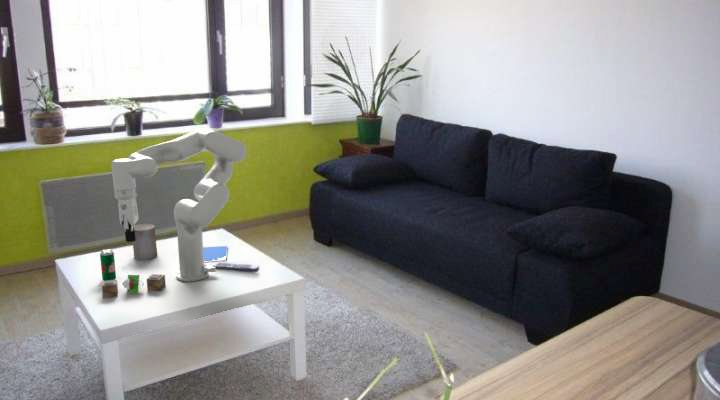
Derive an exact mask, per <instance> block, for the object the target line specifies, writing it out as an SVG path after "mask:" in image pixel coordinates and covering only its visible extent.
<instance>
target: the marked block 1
mask: <svg viewBox="0 0 720 400" xmlns="http://www.w3.org/2000/svg"><path fill="white" fill-rule="evenodd" d="M101 290H102V291H101V292H102V293H101V294H102V299H110V298H117V297H118V295H119V289H118V280H117V279H115V280H108V281H103V280H102V281H101Z"/></svg>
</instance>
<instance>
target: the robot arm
mask: <svg viewBox="0 0 720 400" xmlns="http://www.w3.org/2000/svg"><path fill="white" fill-rule="evenodd" d="M203 152H207V153H211V154H213V159H214V160H213V165H212V167H211V168H210V169H209V171H207V173H206V174H205V175H204V176H203V177H202V178H201V180H199V182H198V183H197V184H196V185H195V187H194V189H193V195H194V198H195V199H196V200H194V199H190V198H184V199H181V200H178V201H177V203H176V204H175V205H174V208H173V218H174V221H175V225H176V226H175V227H176V232H177V234H176V235H177V246H178V248H177V249H178V250H177V251H178V264H179V271H178V272H177V273H175V278H176V279H177V280H178V281H181V282H197V281H201V279H202V280H204V279H206V278H208V276H209V273H216V269H217V268H216V266H213V265H207V264H206V262H204V256H203V247H204V244H203V243H204V242H203V229H204V228H205V227H208V226H209V225H210V223H212V221H213V220H214V219H215V218H216V217H217V215H218V214H219V213H220V212H221V210H223V209H224V207H225V206H226V204H227V203H228V201H229V198H230V190H229V188H228V187H227V184H228V182H229V181H230V179H231V178H232V176H233V171H234V163H242V161H244V160H245V158H246V157H247V155H248V150H247V147H246V145H245V144H244V143H243V142H242V141H240V140H237V139H235V138H233V137H230V136H229V135H226V134H224V133H222V132H219V131H216V130H213V129H207V128H199V129H196V130H194V131H191V132H189V133H186V134H184V135H182V136H180V137H176V138H175V139H172V140H169V141H165V142H161V143H158V144H155V145H151V146H147V147H145V148H141V149H140V150H138V151H136V152H133V153H131V154H130V155H129V156H128V157H127V158H116V159H114V160H112V161H111V164H110V166H111V174H112V185H113V192H114V198H115V199H116V200H117V207H118V218H119V224H120V225H121V226H123V228H124V235H125V242H127V243H133V242H134V241H135V240H136V237H135V230H134V226H135V225H136V223H137V222H138V220H139V211H138V203H137V196H138V193H137V185H136V184H137V183H136V178H140V179H141V178H142V179H143V178H144V179H145V178H150V177H151V178H152V177H153V176H154V175H156V173H157V172H158V169H159V166H158V165H159V164H166V163H179V162H183V161H185V160H188V159H190V158H191V157H194V156H196V155H198V154H200V153H203ZM197 200H198V201H197Z"/></svg>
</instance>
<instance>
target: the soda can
mask: <svg viewBox="0 0 720 400" xmlns="http://www.w3.org/2000/svg"><path fill="white" fill-rule="evenodd" d="M99 258H100V259H99V260H100V267H101V269H100V270H101V277H102V281H108V280H117V273H116V272H117V271H116V262H115V252H114V251H113V250H112V249H111V248H110V249H108V248H107V249H103V250H101V251H100V253H99Z"/></svg>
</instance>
